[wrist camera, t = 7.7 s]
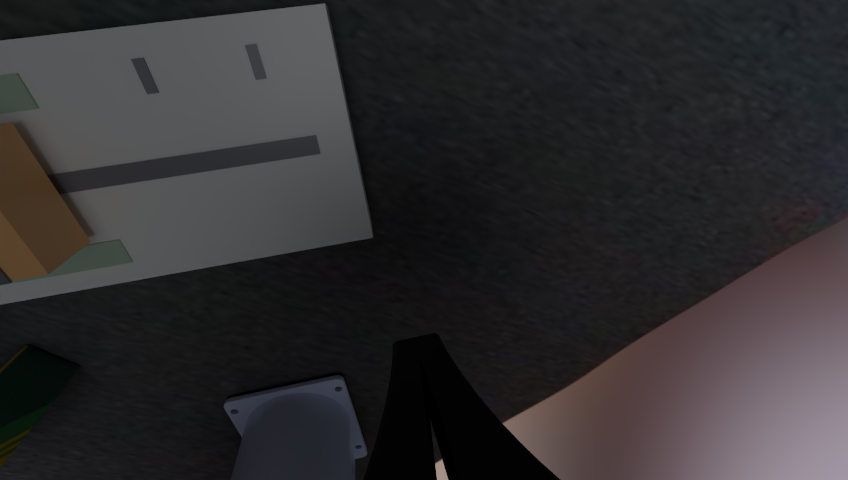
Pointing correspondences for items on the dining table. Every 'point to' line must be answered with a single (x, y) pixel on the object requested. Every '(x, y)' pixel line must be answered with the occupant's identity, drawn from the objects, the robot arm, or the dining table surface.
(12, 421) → the crayon box
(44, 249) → the fader knob
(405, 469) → the robot arm
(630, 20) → the dining table surface
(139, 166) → the fader console
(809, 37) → the dining table surface
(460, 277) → the dining table surface
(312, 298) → the dining table surface
